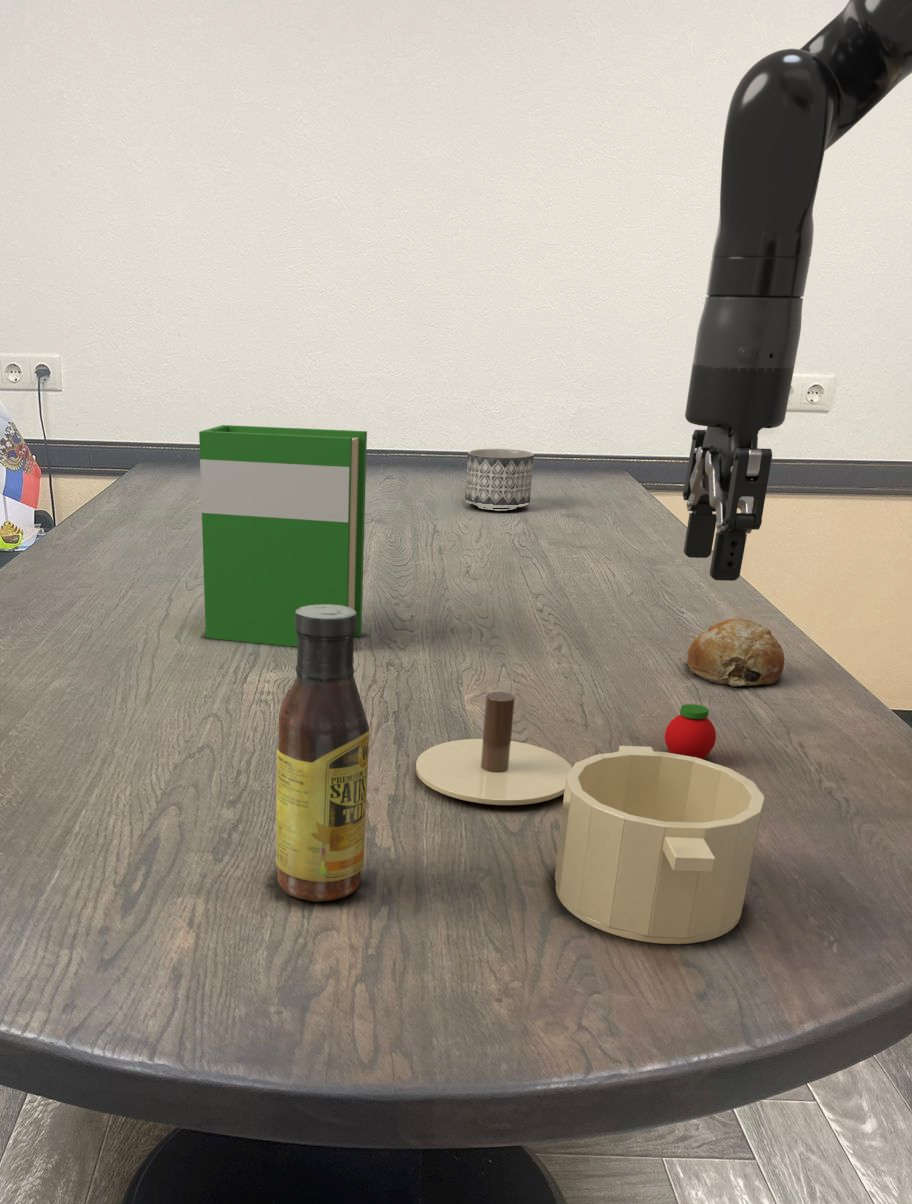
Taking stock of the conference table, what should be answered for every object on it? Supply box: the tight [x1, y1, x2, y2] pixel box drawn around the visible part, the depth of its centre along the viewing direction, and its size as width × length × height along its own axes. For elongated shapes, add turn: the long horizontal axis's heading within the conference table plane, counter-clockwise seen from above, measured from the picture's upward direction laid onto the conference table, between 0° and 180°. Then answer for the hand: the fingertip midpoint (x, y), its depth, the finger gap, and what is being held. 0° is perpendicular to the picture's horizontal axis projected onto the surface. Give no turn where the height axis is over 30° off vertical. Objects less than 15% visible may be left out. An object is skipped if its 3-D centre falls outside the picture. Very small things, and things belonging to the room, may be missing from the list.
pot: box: [554, 745, 766, 945], centre depth 76 cm, size 13×18×8 cm
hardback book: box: [198, 424, 368, 648], centre depth 131 cm, size 18×7×24 cm, turn 73°
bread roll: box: [686, 617, 785, 688], centre depth 122 cm, size 10×10×8 cm
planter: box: [464, 448, 535, 509], centre depth 216 cm, size 13×13×10 cm
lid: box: [415, 691, 573, 806], centre depth 95 cm, size 14×14×8 cm
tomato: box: [664, 703, 717, 760], centre depth 100 cm, size 4×4×5 cm
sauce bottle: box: [275, 604, 371, 903], centre depth 75 cm, size 6×6×20 cm
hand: (709, 567), depth 93 cm, fingers open, 8 cm apart
